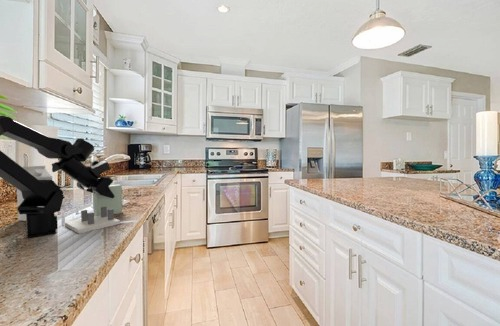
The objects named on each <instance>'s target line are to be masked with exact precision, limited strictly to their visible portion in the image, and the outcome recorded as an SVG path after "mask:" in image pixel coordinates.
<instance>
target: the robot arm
mask: <svg viewBox="0 0 500 326" xmlns="http://www.w3.org/2000/svg"><path fill="white" fill-rule="evenodd" d="M1 136H4V137H6V138H9V139H11V140H14V141H17V142H19V143H21V144H24V145H26V146H29V147H31V148H33V149H35V150H37V152H38V153H39V154H40V155H41V156H43V157H44V158H46V159H51V160H52V159H53V160H56V159H58V161H56V162H52V163H51V167H52V169H51V172H53V173H56V172H57V171H58V172H59V171H62V172H63V173H64V174H66V175H67V176H69V177H71V178H70V179H71V180H73V181H76V187H77V188H78V189H80V190H82V191H84V190H85V189H86V192H89V193H92V194H93V191H94V193H95V194H99V195H102V196H106V197H109V198H114V197H115V196H114V194H113V193H112V191H111V190H110V188H109V185H112V184H113V183H114V179H112V178H111V177H109V176H102V174H103V173H106V172H107V171H110V170H111V169H112V168H111V165H110V164H109V162H108V161H106V160H103V161H98V160H93V161H91V165H90V166H86V165H85V164H84V163H83V162H86V161H87V160H88V158H89V157H90V156H91V155H92V153H93V152H94V150H95V146H94V144H92V143H91V142H89V141H87V140H85V139H84V138H83V137H81V138H76V140H75V141H74V143H72V142H70V141H69V140H64V139H62V138H57V137H51V136H47V135H46V134H43V133H41V132H39V131H36V130H34V129H33V128H31V127H29V126H26V125H25V124H22V123H21V122H18V121H16V120H14V119H13V118H12V117H10V116H8V115H0V137H1ZM22 167H23V166H21V165H20V164H19V163H18V162H16V161H15V160H14V159H12V158H11V157H9V155H7V154H6V153H4V152H3V151H2V150H0V178H1V179H2V180H4V181H5V182H7V183H8V184H10V185H11V186H12V187H15V188H16V190H17V189H19V190H20V191H21V192H22V197H23V199H24V200H23V202H22V203H21V204H20V205H19V207H18V206H17V213H18V212H19V214H26V219H27V221H26V238H27V239H29V238H34V237H40V236H41V237H42V236H46V235H51V234H56V233H57V230H58V228H59V227H58V216H57V214H55V213H58V212H60V211H61V208H62V204H63V200H64V191H63V190H62V189H61V188H62V186H60V185H58V184H57V183H56V182H55V181H54V180H53V179H52V180H38V179H37V178H35V177H34V176H33V175H31V174H30V173H29V172H28V171H26V170H25V169H24V168H22ZM37 206H44V207H37Z"/></svg>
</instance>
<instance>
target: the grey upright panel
mask: <svg viewBox="0 0 500 326" xmlns="http://www.w3.org/2000/svg"><path fill="white" fill-rule="evenodd" d="M109 188H110V190H111V191H112V193H113V194H114V196H115V197H114V198H109V197H106V196H102V195H99V194H95V193H94V191H93V193H92V201H93V202H92V203H93V207H92V208H93V213H94V216H99V215H101V207H107V216H108V209H114V215H117V214H122V213H123V197H122V196H123V195H122V194H123V188H122V184H119V183H118V184H110V185H109Z"/></svg>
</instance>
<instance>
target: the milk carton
mask: <svg viewBox="0 0 500 326" xmlns="http://www.w3.org/2000/svg"><path fill="white" fill-rule="evenodd" d="M21 167H22V168H24V169H25V170H26V171H28V172H29V173H30V174H31V175H33V176H34V177H35V178H37V179H38V180H52V181H53V176H52V174H51V173H50V172H49V171H48V170H47V169H46V165H32V166H21ZM16 198H17V200H16V202H17V208H18V207H19V205H20V204H21V203H22V202H23V200H24V199H23V197H22V192H21V191H20V190H19V189H17V188H16ZM37 207H44V206H37ZM17 217H18V221H24V222H27V219H26V214H19V212H18V211H17Z"/></svg>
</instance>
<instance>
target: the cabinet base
mask: <svg viewBox="0 0 500 326" xmlns="http://www.w3.org/2000/svg"><path fill="white" fill-rule="evenodd" d="M116 225H121V220H120V219H117V218H115V214H114V209H108V216H107V207H101V215H99V216H94V211H93V212H88V210H87V209H83V210H80V218H79V219H76V220H75V219H74V220H70V221H65V222H64V226H65V227H66V228H67V229H70V230H72V231H74V232H75V233H77V234H78V233H79V234H82V233H81V232H83V233H87V231H88V232H91V230H92V231H96V230H99V229H103V228H109V227H112V226H116Z"/></svg>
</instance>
